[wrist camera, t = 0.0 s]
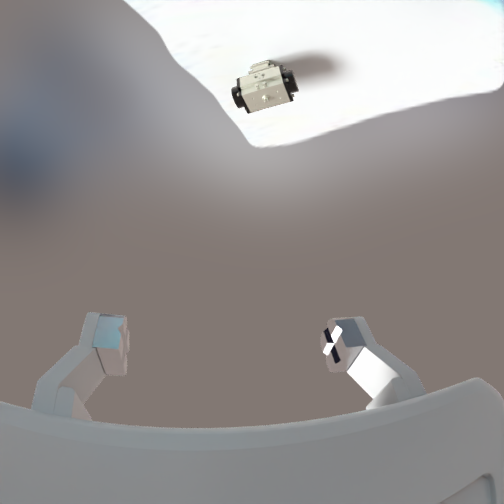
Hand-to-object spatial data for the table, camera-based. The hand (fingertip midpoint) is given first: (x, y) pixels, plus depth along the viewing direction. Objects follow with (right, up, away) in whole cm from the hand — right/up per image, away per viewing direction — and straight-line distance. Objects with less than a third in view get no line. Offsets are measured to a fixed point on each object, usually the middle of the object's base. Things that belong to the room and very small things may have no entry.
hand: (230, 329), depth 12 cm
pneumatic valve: (+3, +40, +43) cm, 59 cm away
